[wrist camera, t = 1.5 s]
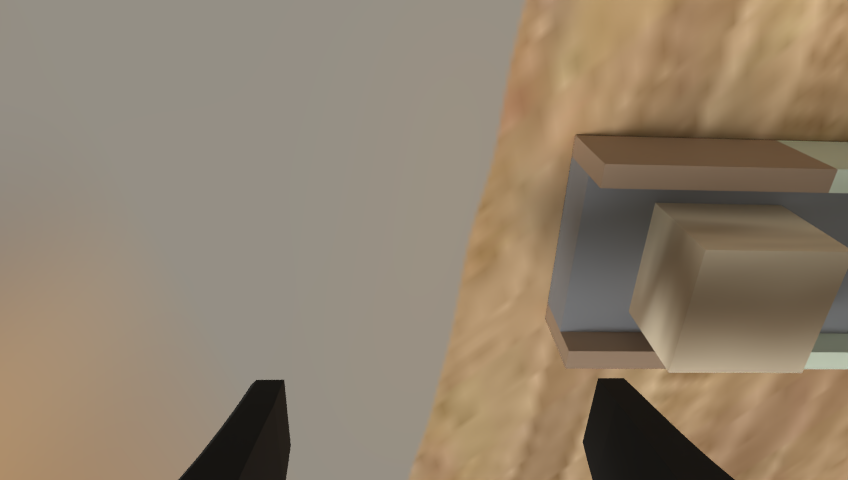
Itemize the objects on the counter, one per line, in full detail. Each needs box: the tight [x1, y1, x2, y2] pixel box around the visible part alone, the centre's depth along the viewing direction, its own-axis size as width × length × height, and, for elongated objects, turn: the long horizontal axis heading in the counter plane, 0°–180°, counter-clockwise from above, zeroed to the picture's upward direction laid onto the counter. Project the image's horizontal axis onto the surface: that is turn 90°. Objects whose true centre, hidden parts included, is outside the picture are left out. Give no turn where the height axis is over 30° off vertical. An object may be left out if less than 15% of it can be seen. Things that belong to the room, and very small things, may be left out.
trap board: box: [545, 135, 848, 369], centre depth 21 cm, size 8×20×3 cm, turn 88°
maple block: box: [629, 203, 848, 373], centre depth 19 cm, size 4×4×4 cm
